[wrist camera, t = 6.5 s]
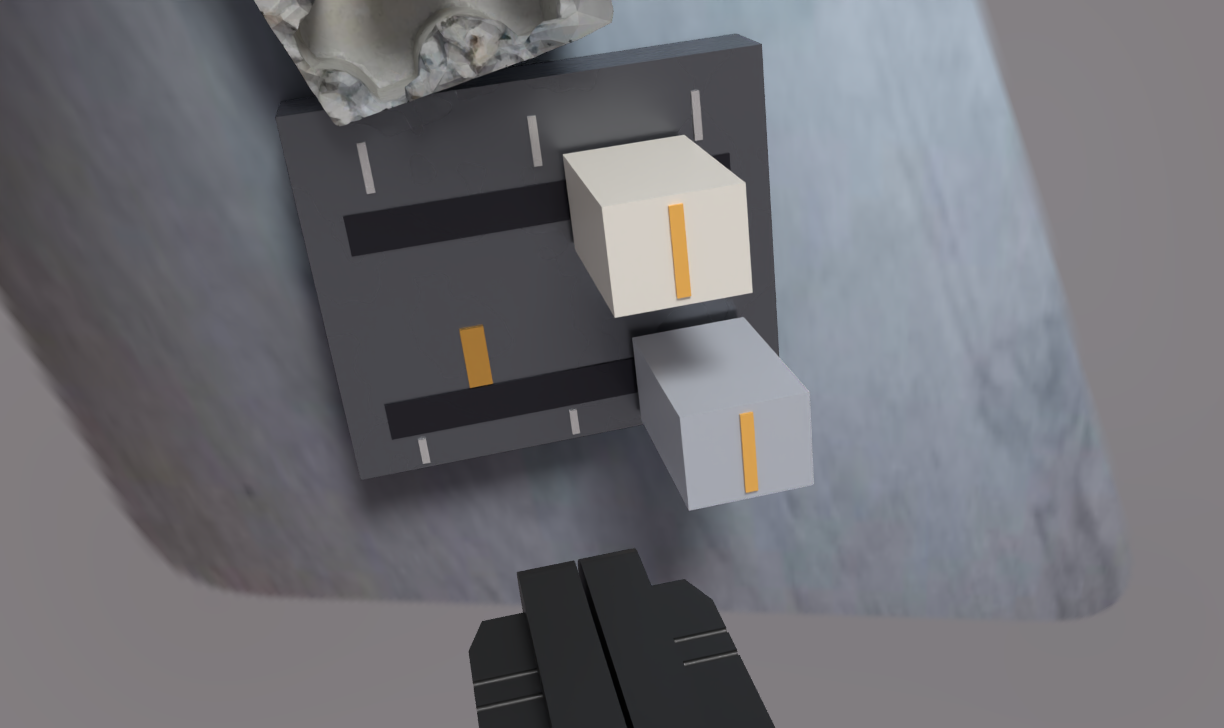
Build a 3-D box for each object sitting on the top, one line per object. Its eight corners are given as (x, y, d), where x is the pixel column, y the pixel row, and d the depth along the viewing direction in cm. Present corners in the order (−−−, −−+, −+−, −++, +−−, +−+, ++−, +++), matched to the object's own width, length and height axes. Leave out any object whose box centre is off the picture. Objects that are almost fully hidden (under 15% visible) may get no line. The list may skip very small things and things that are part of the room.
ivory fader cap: (562, 154, 27) (602, 208, 23) (684, 134, 27) (746, 183, 23) (575, 249, 28) (615, 318, 23) (692, 229, 28) (753, 293, 24)
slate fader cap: (632, 337, 29) (680, 418, 25) (743, 316, 30) (810, 393, 25) (641, 419, 30) (689, 512, 26) (749, 398, 31) (814, 486, 26)
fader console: (280, 101, 27) (275, 118, 25) (736, 33, 29) (762, 44, 27) (360, 445, 31) (360, 481, 29) (758, 369, 33) (782, 398, 31)
